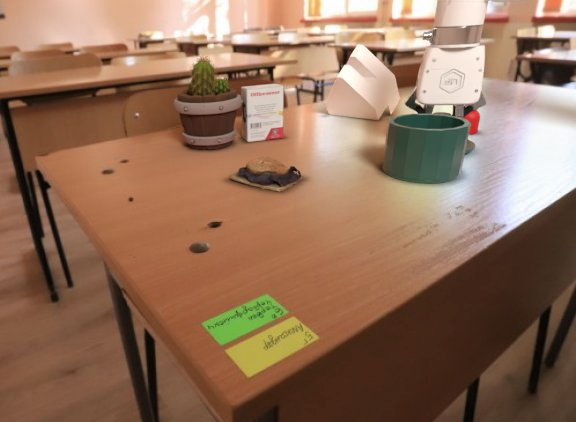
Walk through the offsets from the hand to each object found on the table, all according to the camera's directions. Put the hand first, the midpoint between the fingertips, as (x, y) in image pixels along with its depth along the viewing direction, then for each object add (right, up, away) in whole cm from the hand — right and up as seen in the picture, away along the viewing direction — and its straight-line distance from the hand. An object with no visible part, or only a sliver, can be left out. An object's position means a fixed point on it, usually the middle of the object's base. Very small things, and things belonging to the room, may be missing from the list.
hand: (437, 139), depth 81 cm
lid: (0, -1, +1) cm, 1 cm away
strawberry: (+12, +3, +10) cm, 15 cm away
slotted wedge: (-5, +11, +30) cm, 32 cm away
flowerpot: (-44, +1, +14) cm, 46 cm away
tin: (-9, -7, -10) cm, 15 cm away
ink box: (-31, +3, +16) cm, 35 cm away
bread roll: (-34, -9, -9) cm, 37 cm away
